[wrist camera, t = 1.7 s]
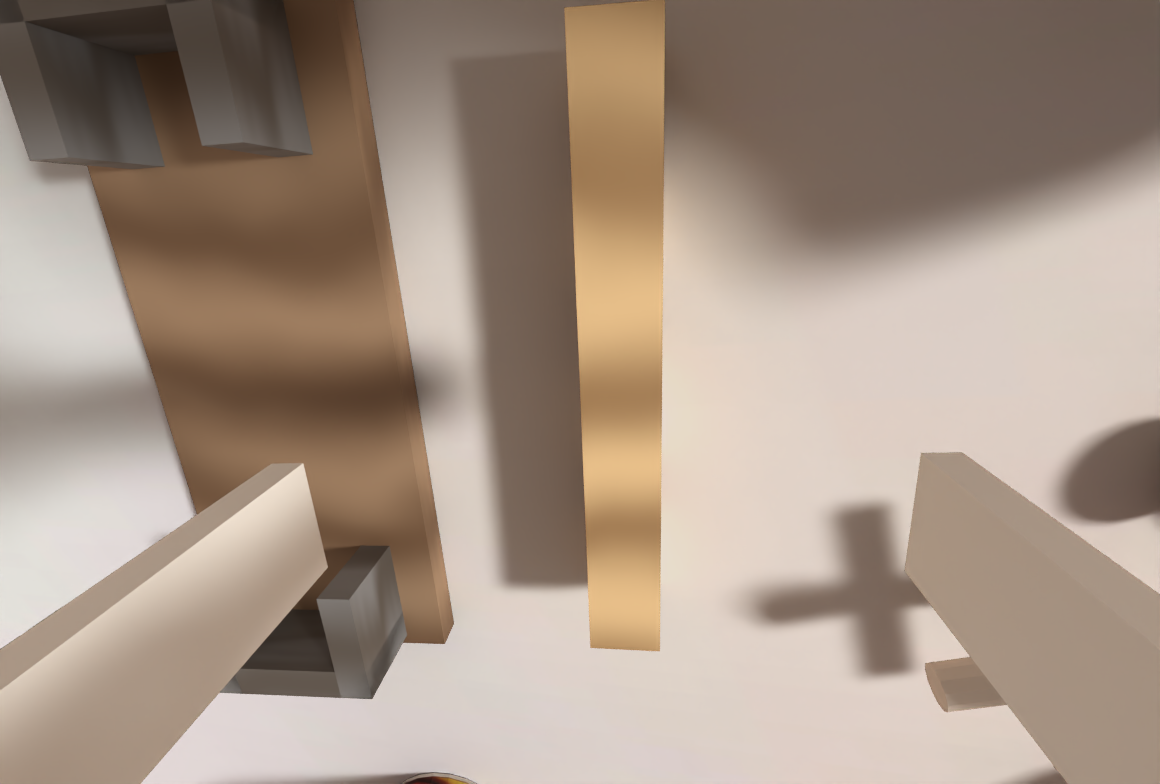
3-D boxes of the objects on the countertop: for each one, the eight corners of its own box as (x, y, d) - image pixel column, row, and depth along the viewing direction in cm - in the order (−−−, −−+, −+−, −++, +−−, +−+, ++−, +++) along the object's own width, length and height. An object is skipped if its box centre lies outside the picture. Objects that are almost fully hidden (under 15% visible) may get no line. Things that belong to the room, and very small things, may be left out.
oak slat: (581, 53, 21) (564, 7, 16) (659, 47, 21) (665, -1, 16) (598, 575, 29) (590, 647, 24) (656, 577, 28) (659, 651, 23)
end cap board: (75, 18, 22) (-97, -41, 17) (350, -15, 21) (255, -91, 16) (254, 618, 32) (178, 698, 26) (453, 623, 30) (415, 709, 25)
